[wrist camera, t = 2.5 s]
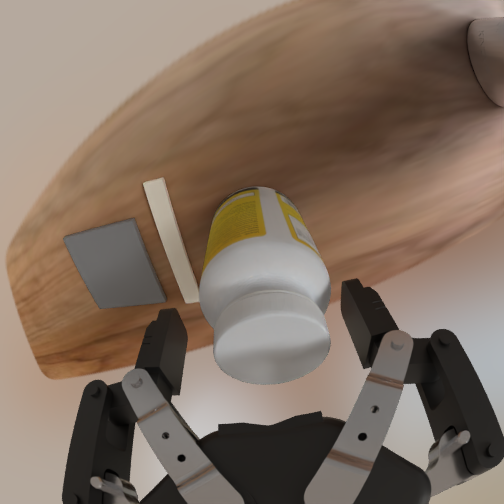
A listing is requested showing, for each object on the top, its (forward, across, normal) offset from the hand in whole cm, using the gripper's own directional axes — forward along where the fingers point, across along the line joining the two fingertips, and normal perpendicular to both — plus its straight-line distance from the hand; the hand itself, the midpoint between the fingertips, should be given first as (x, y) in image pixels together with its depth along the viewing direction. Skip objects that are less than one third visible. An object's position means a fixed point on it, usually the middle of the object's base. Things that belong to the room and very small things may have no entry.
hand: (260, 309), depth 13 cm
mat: (+9, +12, +1) cm, 15 cm away
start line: (+9, +6, 0) cm, 11 cm away
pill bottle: (+9, 0, 0) cm, 9 cm away
